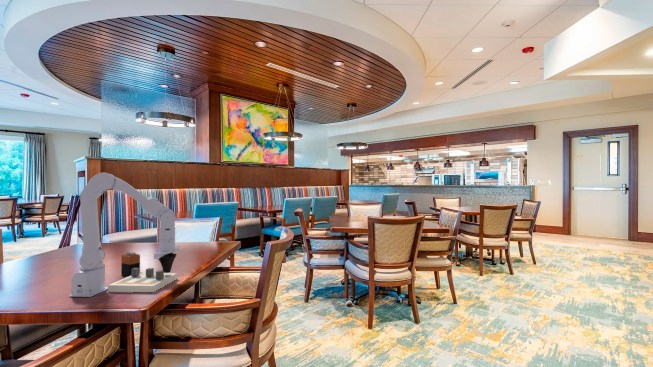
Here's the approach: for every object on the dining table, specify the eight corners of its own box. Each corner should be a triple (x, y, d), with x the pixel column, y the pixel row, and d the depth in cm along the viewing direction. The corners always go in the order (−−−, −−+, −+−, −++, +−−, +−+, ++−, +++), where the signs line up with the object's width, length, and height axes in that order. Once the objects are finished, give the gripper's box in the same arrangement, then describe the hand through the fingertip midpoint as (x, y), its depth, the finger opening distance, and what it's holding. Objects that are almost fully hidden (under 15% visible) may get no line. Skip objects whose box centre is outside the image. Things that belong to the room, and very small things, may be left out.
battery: (130, 278, 126) (130, 254, 126) (120, 275, 129) (120, 252, 130) (140, 275, 130) (140, 252, 130) (131, 273, 133) (131, 250, 133)
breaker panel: (153, 292, 109) (153, 285, 109) (108, 292, 110) (108, 284, 110) (177, 279, 125) (177, 272, 125) (137, 278, 126) (137, 272, 126)
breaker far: (136, 276, 119) (136, 269, 119) (131, 276, 120) (131, 269, 120) (139, 274, 121) (139, 267, 121) (134, 274, 122) (134, 267, 122)
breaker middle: (150, 276, 119) (150, 269, 119) (145, 276, 119) (145, 269, 119) (153, 275, 121) (153, 268, 121) (148, 275, 121) (148, 268, 121)
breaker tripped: (160, 279, 116) (160, 271, 116) (155, 279, 116) (155, 271, 116) (163, 277, 118) (163, 270, 118) (158, 277, 118) (158, 270, 118)
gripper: (166, 242, 115) (166, 277, 115) (185, 236, 129) (185, 267, 129) (148, 242, 115) (148, 277, 115) (170, 236, 129) (169, 267, 129)
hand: (167, 272), depth 122 cm, fingers closed
